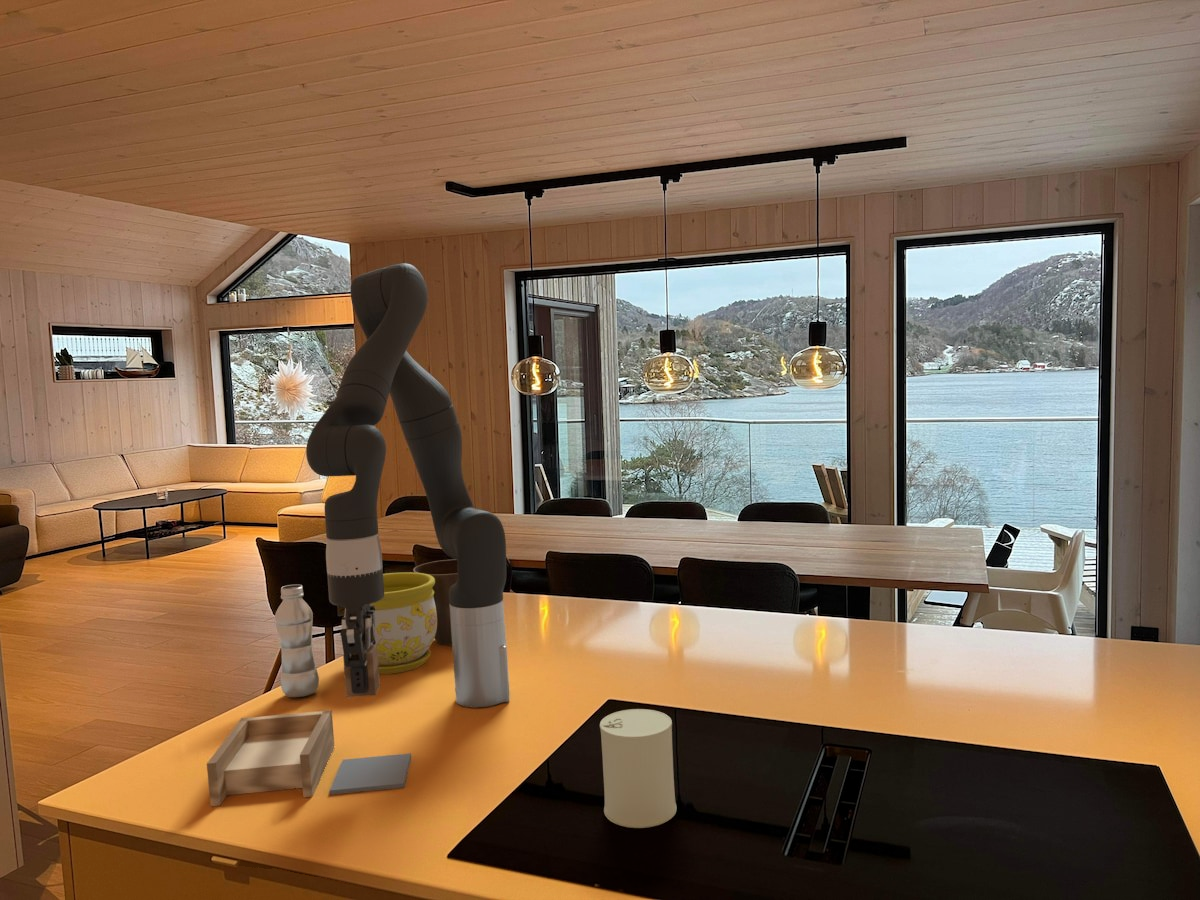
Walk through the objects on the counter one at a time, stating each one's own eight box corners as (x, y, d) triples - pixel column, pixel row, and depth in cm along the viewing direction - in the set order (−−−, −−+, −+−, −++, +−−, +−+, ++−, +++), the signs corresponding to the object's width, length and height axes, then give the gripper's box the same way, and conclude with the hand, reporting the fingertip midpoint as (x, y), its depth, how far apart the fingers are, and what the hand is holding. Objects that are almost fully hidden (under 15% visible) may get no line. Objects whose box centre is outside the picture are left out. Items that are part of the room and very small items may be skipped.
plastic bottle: (309, 702, 161) (299, 591, 159) (274, 701, 162) (264, 591, 161) (326, 689, 167) (318, 582, 165) (293, 688, 169) (284, 582, 167)
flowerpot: (341, 659, 185) (335, 580, 183) (429, 644, 192) (423, 567, 190) (354, 685, 168) (347, 598, 167) (450, 668, 175) (444, 585, 174)
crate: (334, 748, 140) (331, 710, 140) (312, 796, 124) (308, 754, 124) (244, 756, 139) (241, 718, 138) (210, 806, 123) (206, 763, 122)
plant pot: (463, 625, 205) (459, 555, 203) (503, 638, 194) (498, 564, 192) (405, 641, 195) (400, 568, 193) (443, 655, 184) (438, 577, 182)
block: (379, 685, 131) (376, 644, 130) (375, 695, 127) (372, 653, 127) (351, 687, 131) (348, 646, 130) (346, 697, 127) (343, 655, 126)
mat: (411, 757, 135) (411, 753, 135) (403, 787, 125) (403, 783, 125) (342, 763, 134) (342, 759, 134) (329, 794, 124) (329, 790, 124)
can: (601, 796, 120) (596, 708, 119) (670, 790, 120) (666, 702, 119) (607, 831, 111) (602, 736, 110) (682, 824, 111) (678, 729, 110)
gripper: (374, 576, 121) (382, 702, 122) (389, 555, 135) (396, 668, 136) (316, 580, 120) (325, 707, 121) (337, 559, 134) (345, 672, 136)
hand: (363, 686), depth 129 cm, fingers closed on block, 4 cm apart
